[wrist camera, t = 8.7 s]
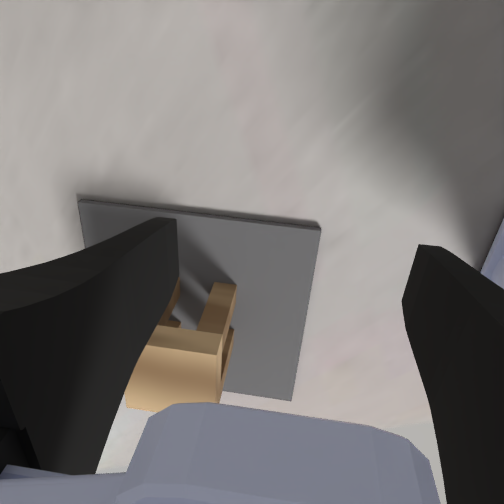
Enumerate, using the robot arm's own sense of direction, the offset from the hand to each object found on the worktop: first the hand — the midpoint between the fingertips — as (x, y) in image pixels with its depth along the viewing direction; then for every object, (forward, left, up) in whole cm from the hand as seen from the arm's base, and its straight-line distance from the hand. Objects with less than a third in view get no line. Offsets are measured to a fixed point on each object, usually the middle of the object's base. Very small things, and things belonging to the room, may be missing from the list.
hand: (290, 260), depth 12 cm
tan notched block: (+5, +10, -10) cm, 15 cm away
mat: (+5, +11, -10) cm, 15 cm away
